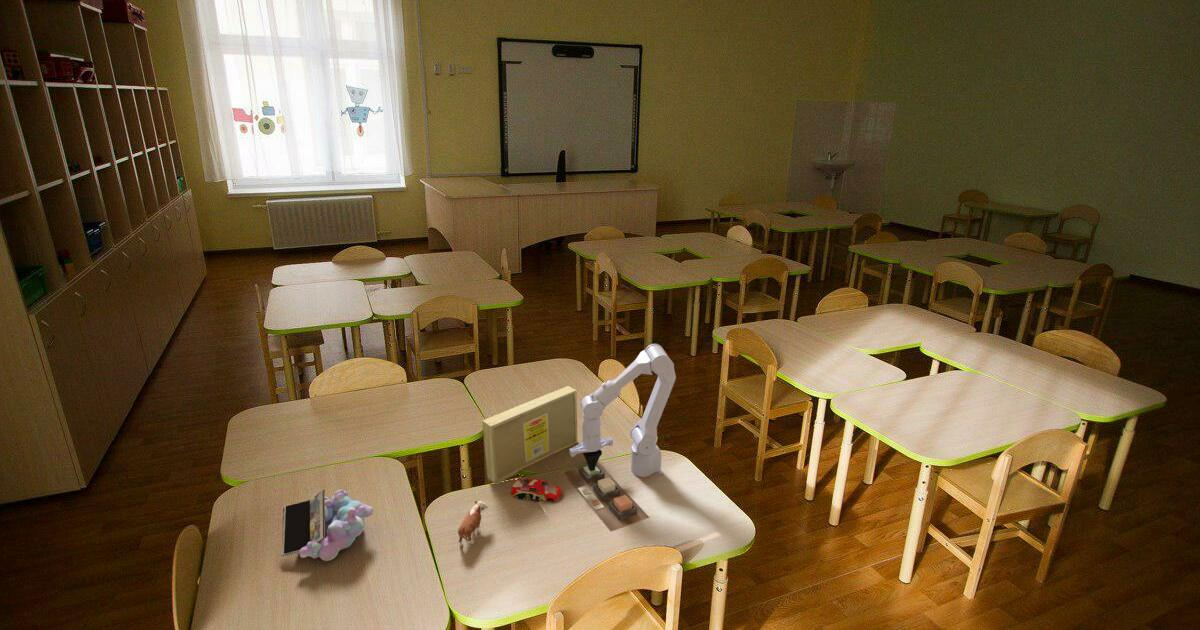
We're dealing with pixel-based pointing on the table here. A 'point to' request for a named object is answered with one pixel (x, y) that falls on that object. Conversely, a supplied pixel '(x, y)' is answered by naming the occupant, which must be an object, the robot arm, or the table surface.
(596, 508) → the keypad
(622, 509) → the terracotta key
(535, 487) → the race car
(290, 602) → the table surface
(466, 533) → the bull figurine
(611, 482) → the cream key
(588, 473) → the sage key
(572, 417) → the beige flat box
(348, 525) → the cloud picture frame
